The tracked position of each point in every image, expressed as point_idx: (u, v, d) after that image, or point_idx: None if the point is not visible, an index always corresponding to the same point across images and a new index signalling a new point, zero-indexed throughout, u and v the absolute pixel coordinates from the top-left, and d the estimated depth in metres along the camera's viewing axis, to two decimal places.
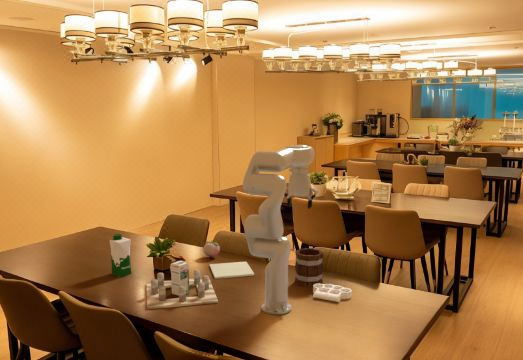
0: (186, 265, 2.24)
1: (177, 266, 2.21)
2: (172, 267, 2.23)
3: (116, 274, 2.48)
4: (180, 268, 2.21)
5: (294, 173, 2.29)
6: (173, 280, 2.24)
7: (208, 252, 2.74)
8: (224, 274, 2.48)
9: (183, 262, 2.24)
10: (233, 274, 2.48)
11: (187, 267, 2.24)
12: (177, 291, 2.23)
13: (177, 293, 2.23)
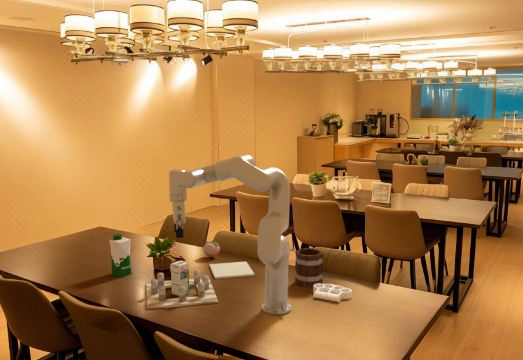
0: (186, 265, 2.24)
1: (177, 266, 2.21)
2: (172, 267, 2.23)
3: (116, 274, 2.48)
4: (180, 268, 2.21)
5: (186, 199, 2.19)
6: (173, 280, 2.24)
7: (208, 252, 2.74)
8: (224, 274, 2.48)
9: (183, 262, 2.24)
10: (233, 274, 2.48)
11: (187, 267, 2.24)
12: (177, 291, 2.23)
13: (177, 293, 2.23)
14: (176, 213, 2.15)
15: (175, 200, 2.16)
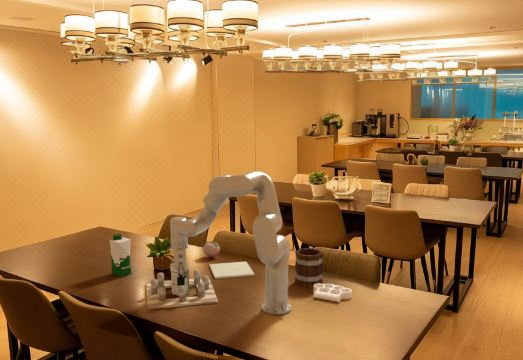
0: None
1: None
2: (172, 267, 2.23)
3: (116, 274, 2.48)
4: None
5: (187, 246, 2.22)
6: (173, 280, 2.24)
7: (208, 252, 2.74)
8: (224, 274, 2.48)
9: None
10: (233, 274, 2.48)
11: (187, 267, 2.24)
12: (177, 291, 2.23)
13: (177, 293, 2.23)
14: (177, 261, 2.19)
15: (176, 248, 2.19)
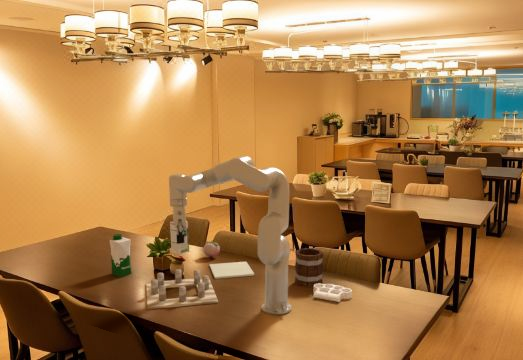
0: None
1: None
2: (171, 225, 2.20)
3: (116, 274, 2.48)
4: None
5: (186, 203, 2.19)
6: (172, 238, 2.21)
7: (208, 252, 2.74)
8: (224, 274, 2.48)
9: None
10: (233, 274, 2.48)
11: (186, 225, 2.21)
12: (177, 249, 2.20)
13: (177, 251, 2.20)
14: (177, 218, 2.16)
15: (175, 205, 2.16)
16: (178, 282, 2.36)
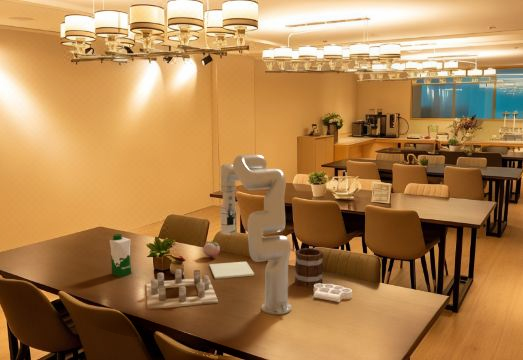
0: None
1: None
2: (222, 209, 2.49)
3: (116, 274, 2.48)
4: (229, 210, 2.47)
5: (235, 190, 2.48)
6: (222, 221, 2.50)
7: (208, 252, 2.74)
8: (224, 274, 2.48)
9: None
10: (233, 274, 2.48)
11: None
12: (226, 230, 2.49)
13: (226, 232, 2.49)
14: (227, 202, 2.45)
15: (226, 191, 2.45)
16: (178, 282, 2.36)
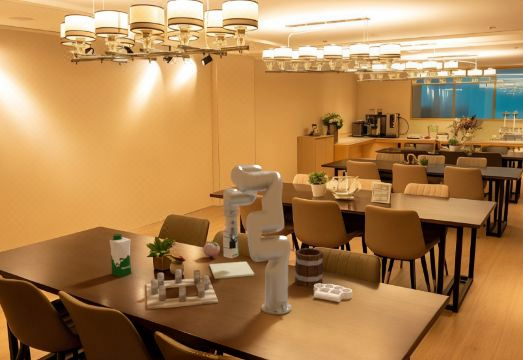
0: None
1: None
2: (224, 232, 2.52)
3: (116, 274, 2.48)
4: None
5: (237, 214, 2.51)
6: (225, 244, 2.53)
7: (208, 252, 2.74)
8: (224, 274, 2.48)
9: None
10: (233, 274, 2.48)
11: None
12: (228, 254, 2.52)
13: (228, 255, 2.53)
14: (230, 227, 2.48)
15: (229, 215, 2.48)
16: (178, 282, 2.36)
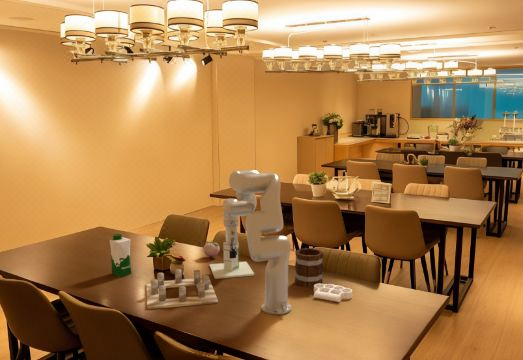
0: None
1: None
2: (224, 245, 2.54)
3: (116, 274, 2.48)
4: None
5: (237, 224, 2.52)
6: (225, 257, 2.54)
7: (208, 252, 2.74)
8: (224, 274, 2.48)
9: None
10: (233, 274, 2.48)
11: (237, 245, 2.55)
12: (229, 266, 2.54)
13: (229, 268, 2.54)
14: (230, 237, 2.49)
15: (229, 226, 2.49)
16: (178, 282, 2.36)
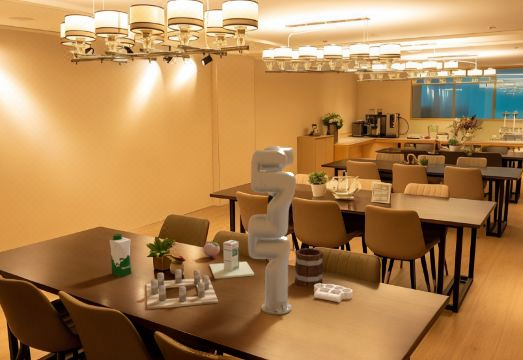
0: (237, 244, 2.54)
1: (229, 244, 2.52)
2: (224, 245, 2.54)
3: (116, 274, 2.48)
4: (232, 246, 2.52)
5: None
6: (225, 257, 2.54)
7: (208, 252, 2.74)
8: (224, 274, 2.48)
9: (234, 241, 2.55)
10: (233, 274, 2.48)
11: (237, 245, 2.55)
12: (229, 266, 2.54)
13: (229, 268, 2.54)
14: None
15: None
16: (178, 282, 2.36)
